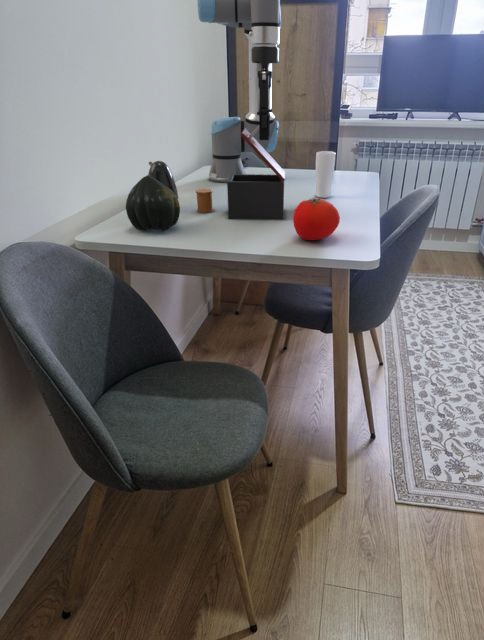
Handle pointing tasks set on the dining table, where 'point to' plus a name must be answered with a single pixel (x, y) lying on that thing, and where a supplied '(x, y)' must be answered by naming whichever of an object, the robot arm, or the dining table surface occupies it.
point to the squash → (152, 205)
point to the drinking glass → (324, 173)
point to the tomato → (315, 219)
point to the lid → (262, 152)
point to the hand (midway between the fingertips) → (264, 138)
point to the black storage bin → (255, 196)
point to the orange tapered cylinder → (204, 200)
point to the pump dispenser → (162, 175)
